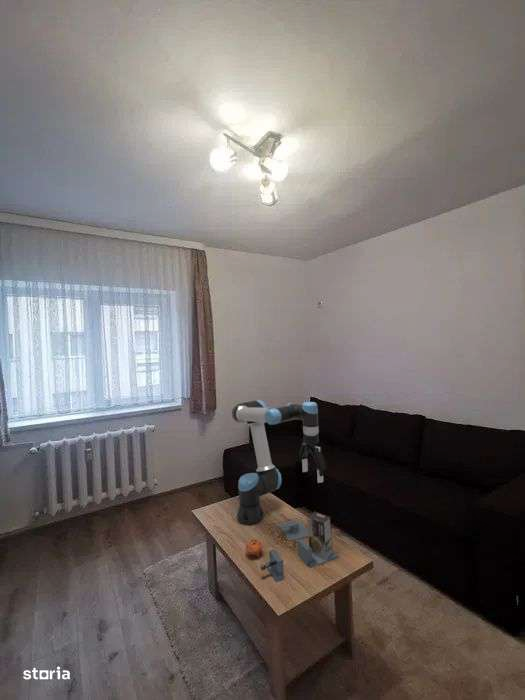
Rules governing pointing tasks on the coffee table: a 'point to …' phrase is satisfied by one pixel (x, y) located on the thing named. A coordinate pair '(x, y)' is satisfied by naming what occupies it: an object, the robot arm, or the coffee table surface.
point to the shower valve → (294, 530)
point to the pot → (254, 547)
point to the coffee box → (320, 534)
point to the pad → (322, 560)
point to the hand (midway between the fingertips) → (312, 476)
